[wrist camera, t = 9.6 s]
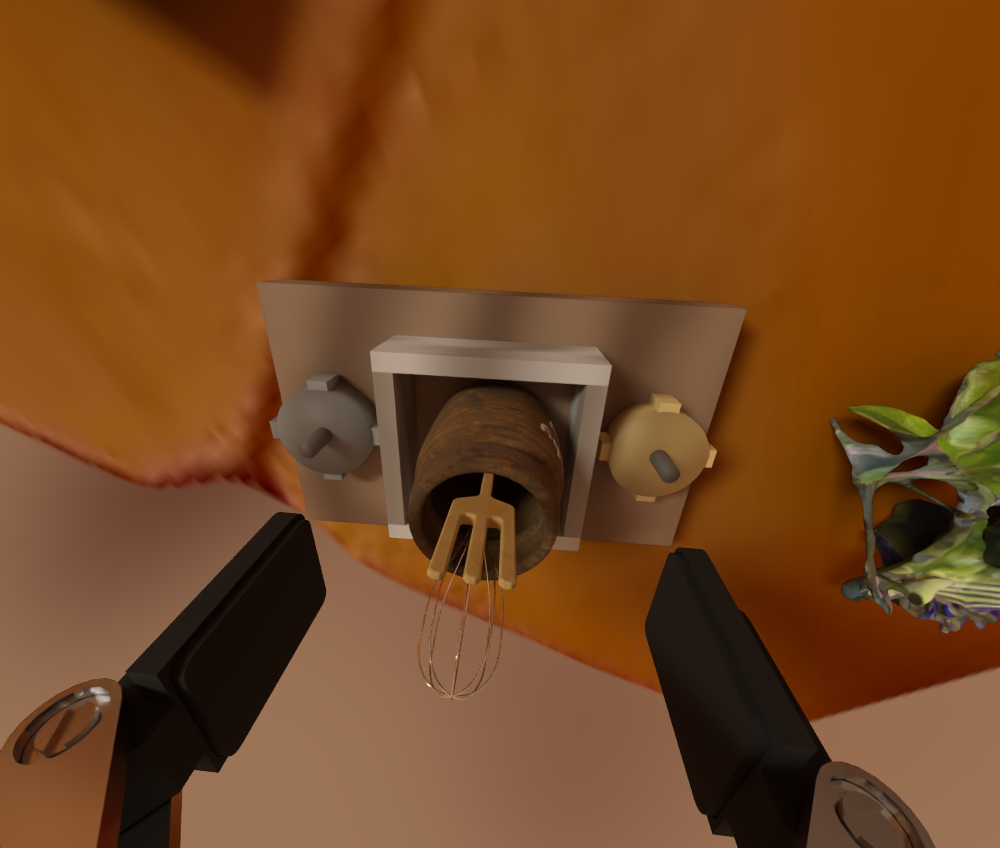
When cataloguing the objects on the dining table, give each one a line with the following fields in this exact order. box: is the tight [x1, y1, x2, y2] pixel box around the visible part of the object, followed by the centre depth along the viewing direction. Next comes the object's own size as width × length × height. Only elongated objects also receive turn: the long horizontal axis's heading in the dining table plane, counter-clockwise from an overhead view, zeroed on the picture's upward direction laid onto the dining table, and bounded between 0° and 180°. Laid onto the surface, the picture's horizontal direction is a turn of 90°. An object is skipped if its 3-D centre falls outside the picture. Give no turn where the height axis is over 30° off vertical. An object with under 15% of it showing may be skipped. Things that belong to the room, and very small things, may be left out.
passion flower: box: [829, 349, 1000, 634], centre depth 17 cm, size 11×11×12 cm
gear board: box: [256, 279, 747, 551], centre depth 18 cm, size 21×13×5 cm, turn 87°
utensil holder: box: [408, 380, 564, 700], centre depth 13 cm, size 6×6×12 cm
